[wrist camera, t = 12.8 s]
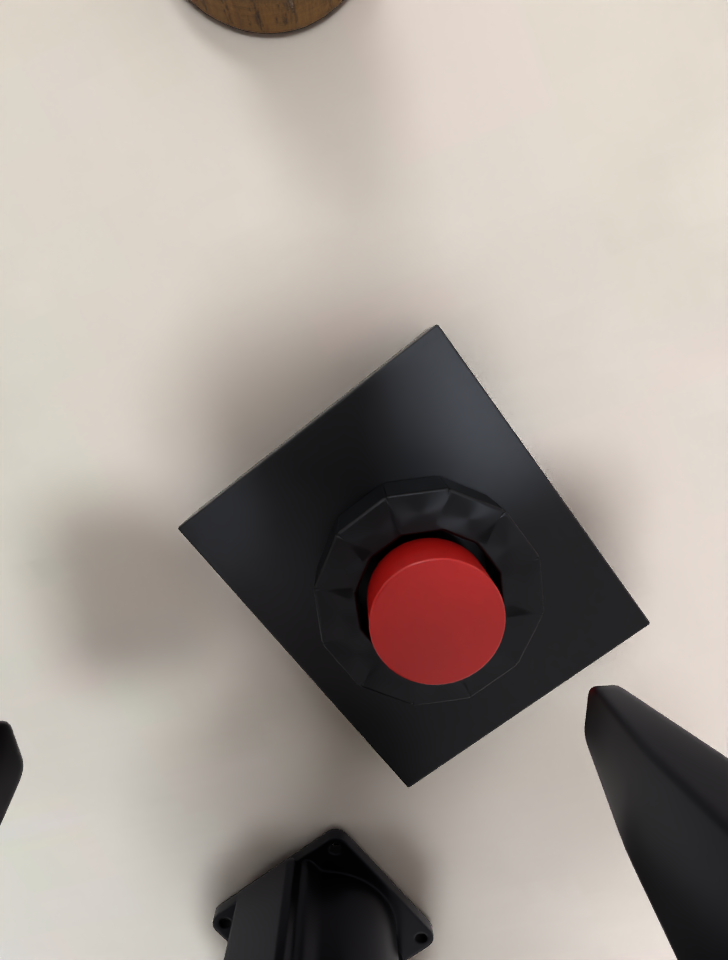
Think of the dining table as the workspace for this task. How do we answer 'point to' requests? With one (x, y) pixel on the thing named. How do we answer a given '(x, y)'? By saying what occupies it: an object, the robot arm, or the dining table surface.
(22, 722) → the dining table surface
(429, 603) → the button
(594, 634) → the control block
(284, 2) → the mortar and pestle
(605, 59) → the dining table surface
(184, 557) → the dining table surface
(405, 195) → the dining table surface
